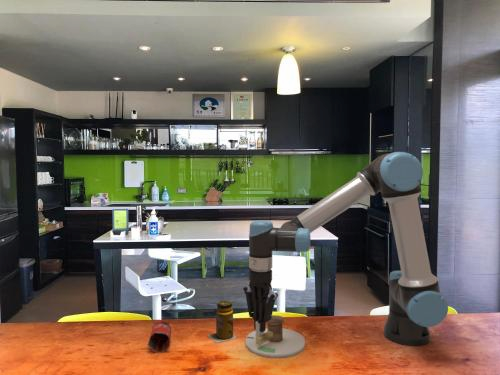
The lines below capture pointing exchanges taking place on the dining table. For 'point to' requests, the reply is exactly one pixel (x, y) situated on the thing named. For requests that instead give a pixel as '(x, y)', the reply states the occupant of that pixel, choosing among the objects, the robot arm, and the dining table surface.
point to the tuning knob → (272, 331)
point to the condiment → (223, 323)
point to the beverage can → (160, 336)
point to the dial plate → (277, 345)
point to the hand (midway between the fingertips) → (259, 340)
